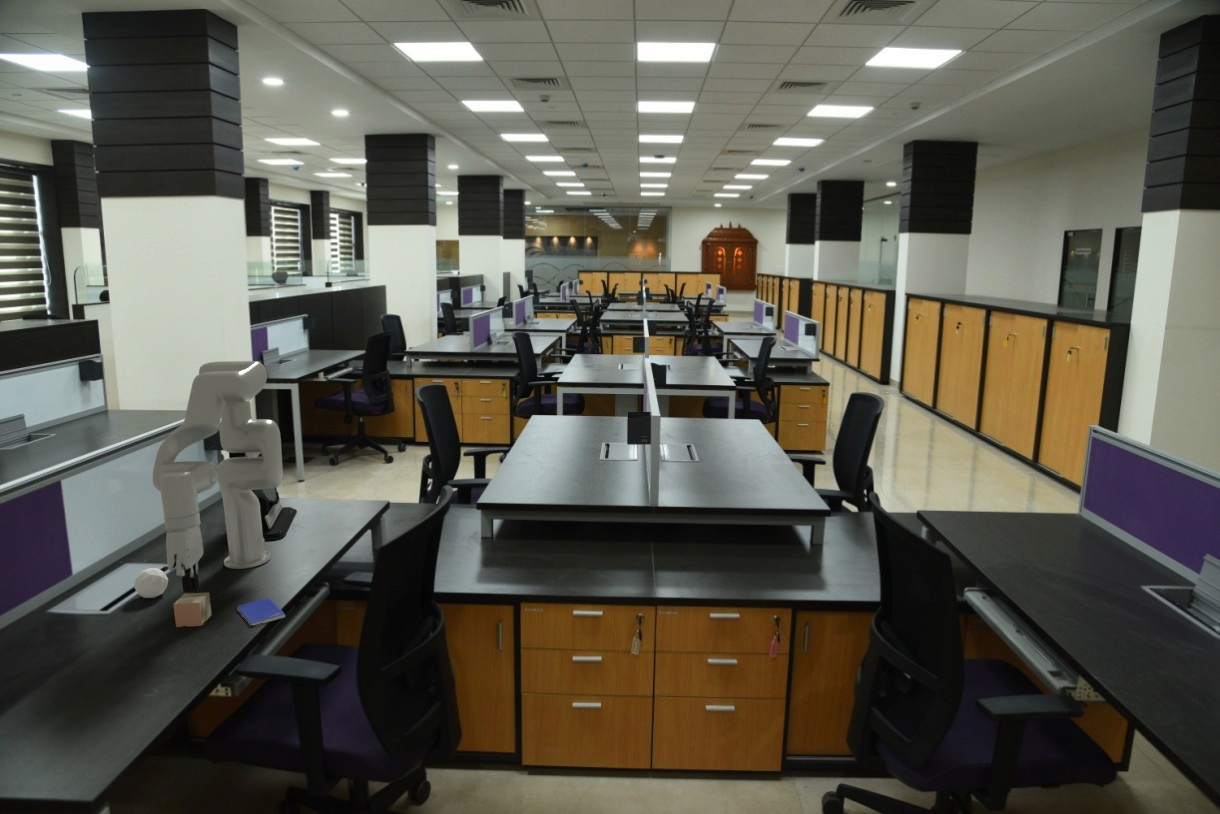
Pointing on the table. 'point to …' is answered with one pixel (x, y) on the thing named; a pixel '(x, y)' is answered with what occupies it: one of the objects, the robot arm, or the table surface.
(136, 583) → the geometric ball
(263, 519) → the award
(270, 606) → the hard drive
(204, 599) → the maple cube
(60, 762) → the table surface
